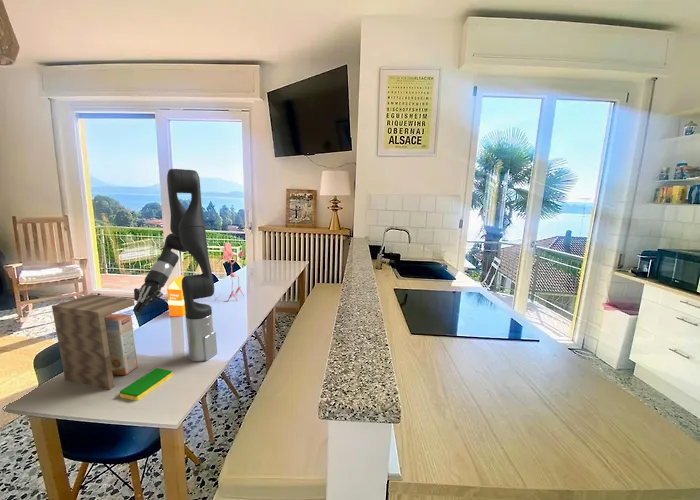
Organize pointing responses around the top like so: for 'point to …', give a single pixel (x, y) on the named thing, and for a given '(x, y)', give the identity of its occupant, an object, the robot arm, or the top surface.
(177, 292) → the orange juice
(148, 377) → the dish sponge
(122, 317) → the cracker box
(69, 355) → the walnut shelf
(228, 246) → the figurine
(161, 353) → the top surface
